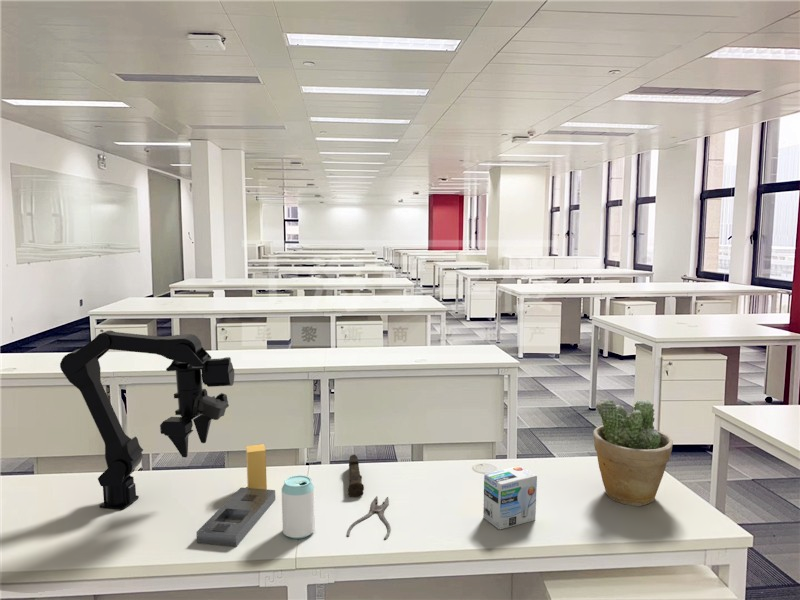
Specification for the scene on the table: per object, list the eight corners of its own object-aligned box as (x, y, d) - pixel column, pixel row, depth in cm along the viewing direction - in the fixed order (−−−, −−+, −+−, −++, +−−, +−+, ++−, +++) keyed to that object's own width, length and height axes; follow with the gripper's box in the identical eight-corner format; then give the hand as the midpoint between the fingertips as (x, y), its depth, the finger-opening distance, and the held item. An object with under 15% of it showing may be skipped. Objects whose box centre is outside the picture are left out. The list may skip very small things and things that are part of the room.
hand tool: (363, 498, 148) (363, 480, 148) (347, 498, 148) (347, 480, 147) (363, 467, 167) (363, 452, 166) (349, 468, 167) (348, 452, 166)
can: (316, 524, 135) (315, 473, 133) (312, 540, 128) (311, 487, 126) (285, 524, 135) (284, 473, 133) (280, 540, 128) (278, 487, 126)
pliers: (346, 539, 128) (349, 496, 148) (346, 542, 128) (349, 500, 148) (391, 537, 128) (388, 495, 148) (391, 541, 128) (388, 499, 148)
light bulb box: (499, 530, 132) (500, 484, 131) (481, 517, 138) (482, 473, 137) (537, 519, 137) (538, 475, 136) (518, 507, 143) (519, 464, 141)
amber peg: (248, 494, 150) (247, 452, 149) (247, 486, 154) (246, 446, 153) (266, 491, 151) (265, 450, 150) (265, 484, 156) (263, 444, 154)
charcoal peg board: (196, 542, 127) (196, 531, 127) (241, 496, 148) (240, 487, 148) (236, 546, 125) (236, 535, 125) (275, 499, 147) (275, 489, 147)
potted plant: (628, 475, 161) (632, 385, 158) (687, 503, 145) (693, 404, 142) (575, 488, 153) (579, 394, 150) (632, 519, 137) (637, 415, 134)
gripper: (202, 399, 132) (207, 466, 134) (237, 377, 151) (241, 437, 153) (156, 398, 134) (161, 464, 136) (196, 377, 152) (201, 436, 154)
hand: (194, 449), depth 145 cm, fingers open, 9 cm apart
